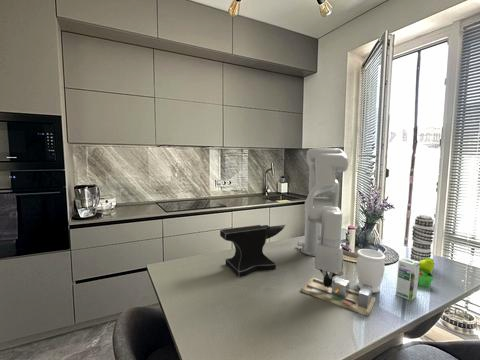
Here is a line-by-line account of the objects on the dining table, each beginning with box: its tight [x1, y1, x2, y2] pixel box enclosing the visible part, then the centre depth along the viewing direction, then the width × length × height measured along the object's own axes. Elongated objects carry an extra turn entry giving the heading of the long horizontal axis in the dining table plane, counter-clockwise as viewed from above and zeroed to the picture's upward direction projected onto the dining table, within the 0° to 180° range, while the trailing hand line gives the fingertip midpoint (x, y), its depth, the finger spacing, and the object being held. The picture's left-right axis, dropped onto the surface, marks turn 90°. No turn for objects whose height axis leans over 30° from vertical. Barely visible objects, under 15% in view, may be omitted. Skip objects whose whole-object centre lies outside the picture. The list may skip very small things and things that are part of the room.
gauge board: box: [300, 277, 376, 317], centre depth 99 cm, size 25×12×2 cm, turn 53°
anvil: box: [219, 224, 286, 279], centre depth 122 cm, size 35×15×20 cm, turn 117°
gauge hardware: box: [307, 279, 373, 309], centre depth 98 cm, size 22×8×5 cm, turn 53°
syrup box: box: [395, 257, 420, 302], centre depth 99 cm, size 6×6×14 cm
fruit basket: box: [418, 257, 435, 288], centre depth 111 cm, size 11×9×11 cm
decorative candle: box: [409, 214, 435, 262], centre depth 130 cm, size 9×9×25 cm
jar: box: [356, 248, 386, 294], centre depth 105 cm, size 11×10×15 cm
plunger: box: [332, 276, 350, 298], centre depth 96 cm, size 5×9×5 cm, turn 143°
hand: (327, 285), depth 101 cm, fingers closed
